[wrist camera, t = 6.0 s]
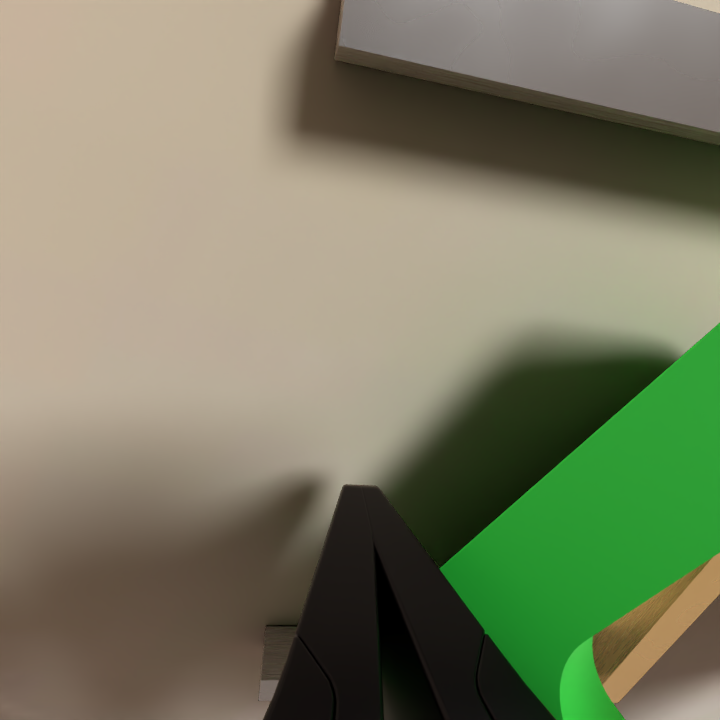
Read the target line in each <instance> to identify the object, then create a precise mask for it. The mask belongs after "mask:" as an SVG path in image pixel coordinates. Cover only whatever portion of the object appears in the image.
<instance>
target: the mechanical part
mask: <svg viewBox="0 0 720 720" xmlns="http://www.w3.org/2000/svg"><path fill="white" fill-rule="evenodd" d="M718 553H720V323H719V324H718V325H717V326H715V327H714V328H713V329H712V330H711V331H710V332H709V333H707V334H706V335H705V336H704V337H703V338H702V339H701V340H700V341H698V342H697V343H696V344H695V345H694V346H693V347H692V348H690V349H689V350H688V351H687V352H686V353H685V354H684V355H682V356H681V357H680V358H679V359H678V360H677V361H676V362H674V363H673V364H672V365H671V366H670V367H669V368H668V369H666V370H665V371H664V372H663V373H662V374H661V375H660V376H658V377H657V378H656V379H655V380H654V381H653V382H652V383H650V384H649V385H648V386H647V387H646V388H645V389H644V390H642V391H641V392H640V393H639V394H638V395H637V396H636V397H634V398H633V399H632V400H631V401H630V402H629V403H628V404H626V405H625V406H624V407H623V408H622V409H621V410H620V411H618V412H617V413H616V414H615V415H614V416H613V417H612V418H610V419H609V420H608V421H607V422H606V423H605V424H604V425H602V426H601V427H600V428H599V429H598V430H597V431H596V432H595V433H593V434H592V435H591V436H590V437H589V438H588V439H587V440H585V441H584V442H583V443H582V444H581V445H580V446H579V447H577V448H576V449H575V450H574V451H573V452H572V453H571V454H569V455H568V456H567V457H566V458H565V459H564V460H563V461H561V462H560V463H559V464H558V465H557V466H556V467H555V468H553V469H552V470H551V471H550V472H549V473H548V474H547V475H545V476H544V477H543V478H542V479H541V480H540V481H539V482H537V483H536V484H535V485H534V486H533V487H532V488H531V489H529V490H528V491H527V492H526V493H525V494H524V495H523V496H521V497H520V498H519V499H518V500H517V501H516V502H515V503H513V504H512V505H511V506H510V507H509V508H508V509H507V510H505V511H504V512H503V513H502V514H501V515H500V516H499V517H497V518H496V519H495V520H494V521H493V522H492V523H491V524H489V525H488V526H487V527H486V528H485V529H484V530H483V531H482V532H480V533H479V534H478V535H477V536H476V537H475V538H474V539H472V540H471V541H470V542H469V543H468V544H467V545H466V546H464V547H463V548H462V549H461V550H460V551H459V552H458V553H456V554H455V555H454V556H453V557H452V558H451V559H450V560H448V561H447V562H446V563H445V564H444V565H443V566H442V567H440V568H439V569H440V571H441V572H442V573H443V575H444V576H445V577H446V579H447V580H448V581H449V583H450V584H451V585H452V587H453V588H454V589H455V591H456V592H457V593H458V595H459V596H460V597H461V599H462V600H463V601H464V603H465V604H466V606H467V607H468V608H469V610H470V611H471V612H472V614H473V615H474V616H475V618H476V619H477V620H478V622H479V623H480V624H481V626H482V627H483V628H484V630H485V634H488V635H489V636H490V638H491V639H492V640H493V642H494V643H495V644H496V646H497V647H498V648H499V650H500V651H501V652H502V654H503V655H504V656H505V658H506V659H507V660H508V661H509V663H510V664H511V665H512V667H513V668H514V669H515V670H516V672H517V673H518V674H519V676H520V677H521V678H522V679H523V681H524V682H525V683H526V685H527V686H528V687H529V688H530V689H531V690H532V692H533V693H534V694H535V695H536V696H537V698H538V699H539V700H540V701H541V702H542V703H543V705H544V706H545V707H546V708H547V709H548V711H549V712H550V713H551V714H552V715H553V716H554V718H555V719H556V720H625V719H624V718H623V716H622V715H621V714H620V712H619V711H618V710H617V708H616V707H615V705H614V704H613V702H612V701H611V700H610V698H609V696H608V695H607V693H606V691H605V689H604V687H603V685H602V683H601V681H600V679H599V676H598V673H597V670H596V667H595V663H594V658H593V649H592V642H593V636H594V635H595V634H597V633H598V632H600V631H601V630H603V629H604V628H606V627H607V626H609V625H610V624H612V623H614V622H615V621H617V620H618V619H620V618H621V617H623V616H624V615H626V614H627V613H629V612H630V611H632V610H633V609H635V608H636V607H638V606H639V605H641V604H642V603H644V602H645V601H647V600H648V599H650V598H651V597H653V596H655V595H656V594H658V593H659V592H661V591H662V590H664V589H665V588H667V587H668V586H670V585H671V584H673V583H674V582H676V581H677V580H679V579H680V578H682V577H683V576H685V575H686V574H688V573H689V572H691V571H692V570H694V569H696V568H697V567H699V566H700V565H702V564H703V563H705V562H706V561H708V560H709V559H711V558H712V557H714V556H715V555H717V554H718ZM485 634H484V635H485Z"/></svg>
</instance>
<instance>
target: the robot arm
mask: <svg viewBox="0 0 720 720" xmlns="http://www.w3.org/2000/svg"><path fill="white" fill-rule="evenodd" d="M484 634H485V630H484V628H483V627H482V626H481V624H480V623H479V622H478V620H477V619H476V618H475V616H474V615H473V614H472V612H471V611H470V610H469V608H468V607H467V606H466V604H465V603H464V601H463V600H462V599H461V597H460V596H459V595H458V593H457V592H456V591H455V589H454V588H453V587H452V585H451V584H450V583H449V581H448V580H447V579H446V577H445V576H444V575H443V573H442V572H441V571H440V569H439V568H438V566H437V565H436V564H435V562H434V561H433V560H432V558H431V557H430V556H429V554H428V553H427V552H426V550H425V549H424V548H423V546H422V545H421V544H420V542H419V541H418V540H417V538H416V537H415V536H414V534H413V533H412V531H411V530H410V529H409V527H408V526H407V525H406V523H405V522H404V521H403V519H402V518H401V517H400V515H399V514H398V513H397V511H396V510H395V509H394V507H393V506H392V505H391V503H390V502H389V501H388V499H387V498H386V496H385V495H384V494H383V492H382V491H381V490H380V489H379V488H378V487H377V486H369V485H348V484H345V485H344V486H343V487H342V490H341V493H340V496H339V499H338V502H337V505H336V508H335V511H334V515H333V518H332V521H331V524H330V527H329V530H328V533H327V536H326V539H325V542H324V545H323V548H322V552H321V555H320V558H319V561H318V564H317V567H316V570H315V573H314V576H313V579H312V582H311V586H310V589H309V592H308V595H307V598H306V601H305V604H304V607H303V610H302V613H301V616H300V620H299V623H298V626H297V629H296V632H295V637H294V638H293V640H292V643H291V646H290V650H289V653H288V656H287V659H286V662H285V665H284V667H283V670H282V673H281V676H280V679H279V681H278V684H277V687H276V690H275V692H274V695H273V698H272V700H271V702H270V705H269V707H268V709H267V712H266V714H265V716H264V719H263V720H556V719H555V718H554V716H553V715H552V714H551V713H550V712H549V711H548V709H547V708H546V707H545V706H544V705H543V703H542V702H541V701H540V700H539V699H538V698H537V696H536V695H535V694H534V693H533V692H532V690H531V689H530V688H529V687H528V686H527V685H526V683H525V682H524V681H523V679H522V678H521V677H520V676H519V674H518V673H517V672H516V670H515V669H514V668H513V667H512V665H511V664H510V663H509V661H508V660H507V659H506V658H505V656H504V655H503V654H502V652H501V651H500V650H499V648H498V647H497V646H496V644H495V643H494V642H493V640H492V639H491V638H490V636H489V635H488V634H485V635H484Z"/></svg>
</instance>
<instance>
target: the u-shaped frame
mask: <svg viewBox="0 0 720 720" xmlns="http://www.w3.org/2000/svg"><path fill="white" fill-rule="evenodd" d="M334 60H337V61H342V62H346V63H351V64H355V65H360V66H364V67H369V68H373V69H378V70H382V71H387V72H391V73H396V74H400V75H405V76H409V77H414V78H418V79H422V80H427V81H431V82H436V83H440V84H445V85H449V86H454V87H458V88H463V89H467V90H472V91H476V92H481V93H485V94H490V95H494V96H499V97H503V98H508V99H512V100H517V101H521V102H526V103H530V104H535V105H539V106H544V107H548V108H553V109H557V110H562V111H566V112H571V113H575V114H580V115H584V116H589V117H593V118H597V119H602V120H606V121H611V122H615V123H620V124H624V125H629V126H633V127H638V128H642V129H647V130H651V131H656V132H660V133H665V134H669V135H674V136H678V137H683V138H687V139H692V140H696V141H701V142H705V143H710V144H714V145H719V146H720V13H716V12H712V11H709V10H705V9H702V8H698V7H695V6H691V5H688V4H684V3H681V2H677V1H674V0H341V6H340V14H339V22H338V31H337V39H336V47H335V56H334ZM719 594H720V553H718V554H717V555H715V556H714V557H712V558H711V559H709V560H708V561H706V562H705V563H703V564H702V565H700V566H699V567H697V568H696V569H694V570H692V571H691V572H689V573H688V574H686V575H685V576H683V577H682V578H680V579H679V580H677V581H676V582H674V583H673V584H671V585H670V586H668V587H667V588H665V589H664V590H662V591H661V592H659V593H658V594H656V595H655V596H653V597H651V598H650V599H648V600H647V601H645V602H644V603H642V604H641V605H639V606H638V607H636V608H635V609H633V610H632V611H630V612H629V613H627V614H626V615H624V616H623V617H621V618H620V619H618V620H617V621H615V622H614V623H612V624H610V625H609V626H607V627H606V628H604V629H603V630H601V631H600V632H598V633H597V634H595V635H594V636H593V642H592V649H593V658H594V663H595V667H596V670H597V673H598V676H599V679H600V681H601V683H602V685H603V687H604V689H605V691H606V693H607V695H608V696H609V698H610V700H611V701H612V702H613V703H618V702H619V701H620V700H621V699H622V698H623V697H624V696H625V695H626V694H627V693H628V692H629V690H630V689H631V688H632V687H633V686H634V685H635V684H636V683H637V682H638V681H639V680H640V679H641V678H642V677H643V675H644V674H645V673H646V672H647V671H648V670H649V669H650V668H651V667H652V666H653V665H654V664H655V663H656V662H657V661H658V659H659V658H660V657H661V656H662V655H663V654H664V653H665V652H666V651H667V650H668V649H669V648H670V647H671V646H672V644H673V643H674V642H675V641H676V640H677V639H678V638H679V637H680V636H681V635H682V634H683V633H684V632H685V631H686V629H687V628H688V627H689V626H690V625H691V624H692V623H693V622H694V621H695V620H696V619H697V618H698V617H699V616H700V614H701V613H702V612H703V611H704V610H705V609H706V608H707V607H708V606H709V605H710V604H711V603H712V602H713V601H714V600H715V598H716V597H717V596H718V595H719ZM296 629H297V627H266V630H265V639H264V647H263V657H262V667H261V678H260V688H259V699H258V701H271V700H272V698H273V695H274V692H275V690H276V687H277V684H278V681H279V679H280V676H281V673H282V670H283V667H284V665H285V662H286V659H287V656H288V653H289V650H290V646H291V643H292V640H293V638H294V637H295V632H296Z"/></svg>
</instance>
